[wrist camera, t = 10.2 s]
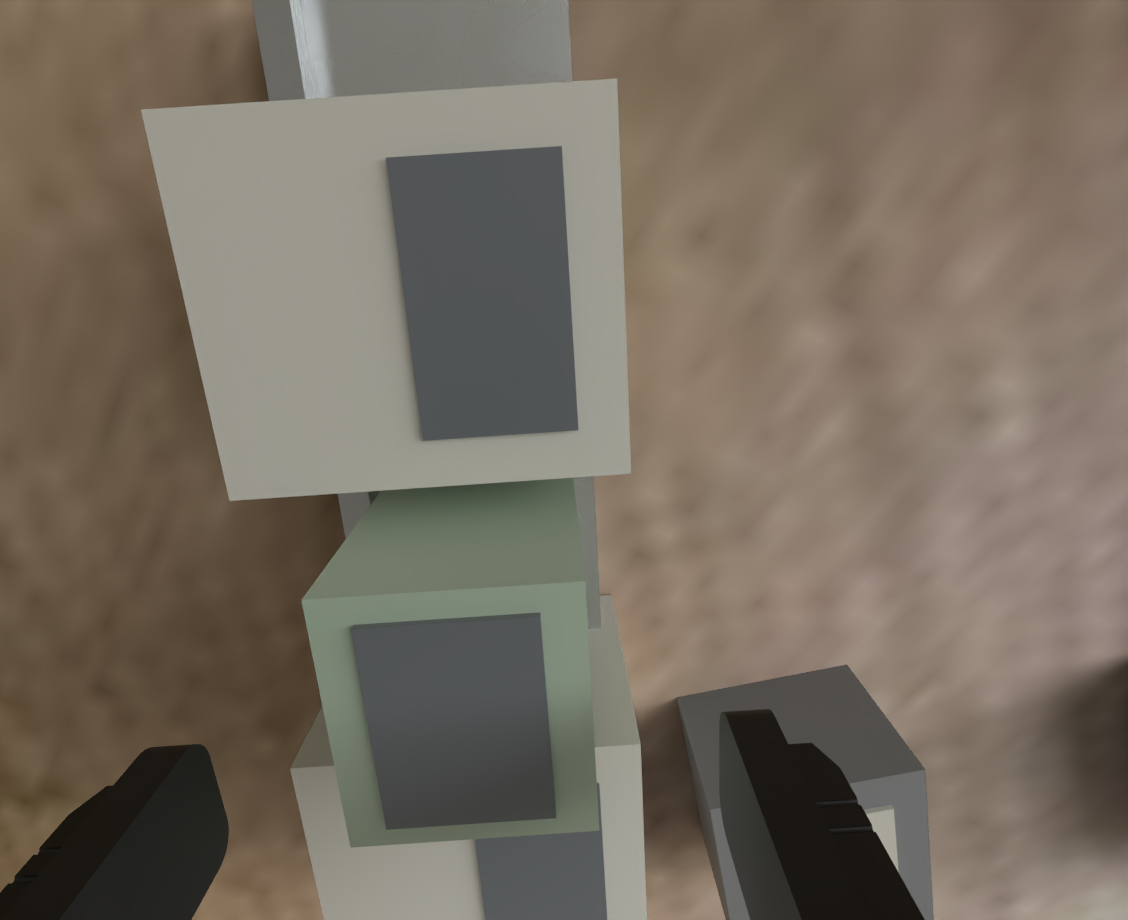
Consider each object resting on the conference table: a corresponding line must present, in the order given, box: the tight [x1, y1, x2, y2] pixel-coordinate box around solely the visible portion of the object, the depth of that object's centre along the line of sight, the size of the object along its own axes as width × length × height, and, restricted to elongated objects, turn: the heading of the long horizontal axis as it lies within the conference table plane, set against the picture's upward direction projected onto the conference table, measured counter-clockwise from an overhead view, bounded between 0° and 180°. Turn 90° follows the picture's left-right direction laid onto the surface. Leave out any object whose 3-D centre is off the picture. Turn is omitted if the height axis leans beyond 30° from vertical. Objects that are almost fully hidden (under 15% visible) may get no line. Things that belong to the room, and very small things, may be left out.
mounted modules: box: [141, 79, 647, 920], centre depth 17 cm, size 8×20×7 cm, turn 4°
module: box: [301, 478, 599, 848], centre depth 15 cm, size 4×5×8 cm
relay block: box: [677, 665, 934, 920], centre depth 21 cm, size 6×6×5 cm
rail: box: [252, 0, 601, 629], centre depth 19 cm, size 7×28×3 cm, turn 4°
